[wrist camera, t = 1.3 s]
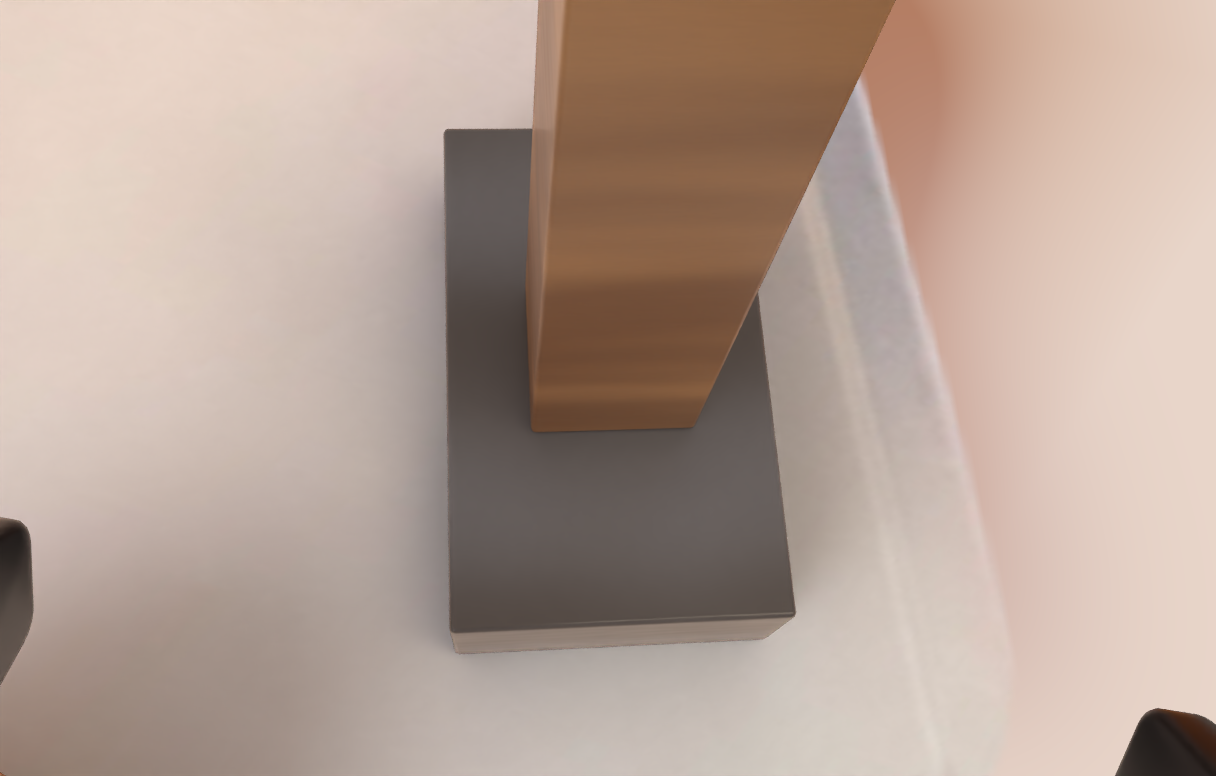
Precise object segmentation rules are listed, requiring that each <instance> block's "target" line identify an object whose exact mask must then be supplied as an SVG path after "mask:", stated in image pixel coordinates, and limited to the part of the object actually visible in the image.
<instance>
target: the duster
mask: <svg viewBox="0 0 1216 776" xmlns="http://www.w3.org/2000/svg"><path fill="white" fill-rule="evenodd" d="M895 1H896V0H538V21H537V43H536V65H535V86H534V108H533V129H447V130H445V132H444V204H445V288H446V371H447V455H448V538H449V621H450V632H451V637H452V641H453V645H454V649H455V651H456V653H458V654H471V653H491V652H512V651H532V650H553V649H573V648H594V647H614V646H634V645H655V644H675V643H696V642H716V641H737V640H757V639H765V638H767V637H768V636H769V635H771V634H772V633H773V632H775V631H776V630H777V629H779V628H780V627H781V626H783V625H784V624H785V623H787V622H788V621H789V620H791V619H792V618H793V617H795V614H796V609H795V601H794V592H793V584H792V575H791V567H790V559H789V550H788V542H787V533H786V525H785V516H784V508H783V499H782V491H781V483H780V474H779V466H778V457H777V449H776V440H775V432H774V423H773V415H772V407H771V398H770V390H769V381H768V373H767V364H766V356H765V347H764V339H763V330H762V322H761V314H760V305H759V297H758V290H759V288H760V286H761V284H762V282H763V280H764V278H765V275H766V273H767V271H768V269H769V267H770V265H771V263H772V261H773V259H774V256H775V254H776V252H777V250H778V248H779V246H780V244H781V242H782V240H783V237H784V235H785V233H786V231H787V229H788V227H789V225H790V223H791V220H792V218H793V216H794V214H795V212H796V210H797V208H798V206H799V204H800V201H801V199H802V197H803V195H804V193H805V191H806V189H807V187H808V185H809V182H810V180H811V178H812V176H813V174H814V172H815V170H816V168H817V166H818V163H819V161H820V159H821V157H822V155H823V153H824V151H825V149H826V146H827V144H828V142H829V140H830V138H831V136H832V134H833V132H834V130H835V127H836V125H837V123H838V121H839V119H840V117H841V115H842V113H843V111H844V108H845V106H846V104H847V102H848V100H849V98H850V96H851V94H852V92H853V89H854V87H855V85H856V83H857V81H858V79H859V77H860V75H861V72H862V70H863V68H864V66H865V64H866V62H867V60H868V57H869V56H870V53H871V51H872V49H873V47H874V45H875V43H876V41H877V39H878V36H879V34H880V32H881V30H882V28H883V26H884V24H885V22H886V19H887V17H888V15H889V13H890V11H891V9H892V7H893V5H894V3H895Z"/></svg>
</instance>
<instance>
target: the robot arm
mask: <svg viewBox="0 0 1216 776" xmlns="http://www.w3.org/2000/svg"><path fill="white" fill-rule="evenodd" d="M32 617H33V583H32V558H31V540H30V534H29V531H28V529H27V527H26V526H25V525H24V524H23V523H22V522H21V521H18V520H14V519H8V518H2V517H0V685H1V683H2V682H3V680H4V678H5V676H6V674H7V672H8V671H9V669H10V667H11V665H12V663H13V662H14V660H15V658H16V656H17V654H18V653H19V651H20V649H21V647H22V645H23V643H24V641H25V639H26V637H27V635H28V632H29V630H30V626H31V622H32ZM1115 776H1216V724H1214V723H1213V722H1212V721H1210V720H1209V719H1207V718H1205V717H1203V716H1200V715H1197V714H1191V713H1185V712H1179V711H1172V710H1166V709H1159V708H1157V709H1153V710H1150V711H1148V712H1146V713H1145V715H1144V716H1143V717H1142V718H1141V720H1140V721H1139V723H1138V725H1137V727H1136V730H1135V732H1134V734H1133V736H1132V739H1131V741H1130V743H1129V745H1128V748H1127V750H1126V752H1125V754H1124V757H1123V759H1122V761H1121V763H1120V766H1119V768H1118V770H1117V773H1116V775H1115Z"/></svg>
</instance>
